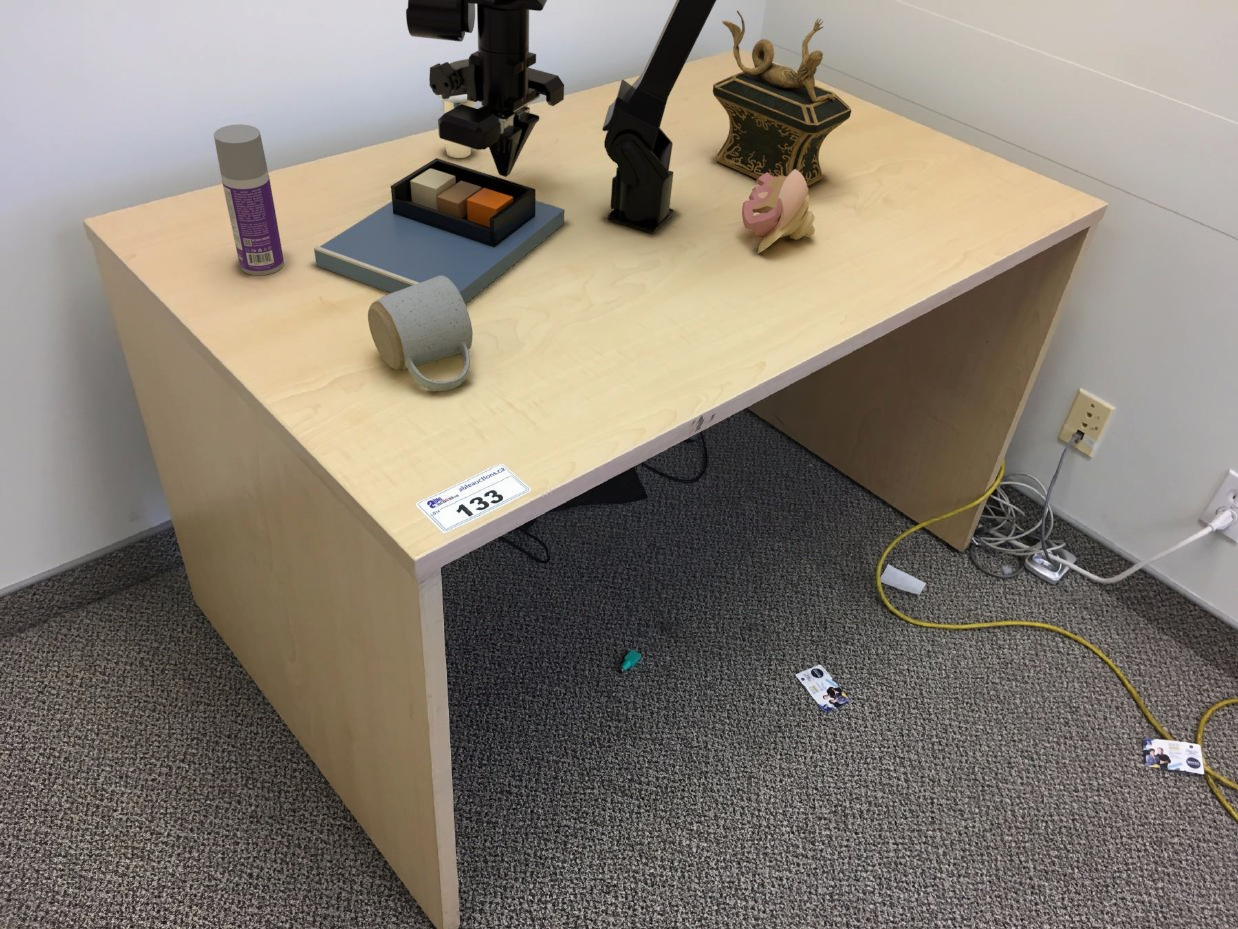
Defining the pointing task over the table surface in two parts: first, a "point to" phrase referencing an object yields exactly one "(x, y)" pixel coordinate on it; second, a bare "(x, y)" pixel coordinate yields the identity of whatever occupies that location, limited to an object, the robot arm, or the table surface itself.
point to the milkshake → (447, 105)
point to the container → (249, 198)
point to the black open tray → (464, 201)
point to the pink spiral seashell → (779, 208)
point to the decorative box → (777, 112)
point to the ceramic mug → (422, 328)
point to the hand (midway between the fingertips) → (504, 174)
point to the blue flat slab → (428, 251)
